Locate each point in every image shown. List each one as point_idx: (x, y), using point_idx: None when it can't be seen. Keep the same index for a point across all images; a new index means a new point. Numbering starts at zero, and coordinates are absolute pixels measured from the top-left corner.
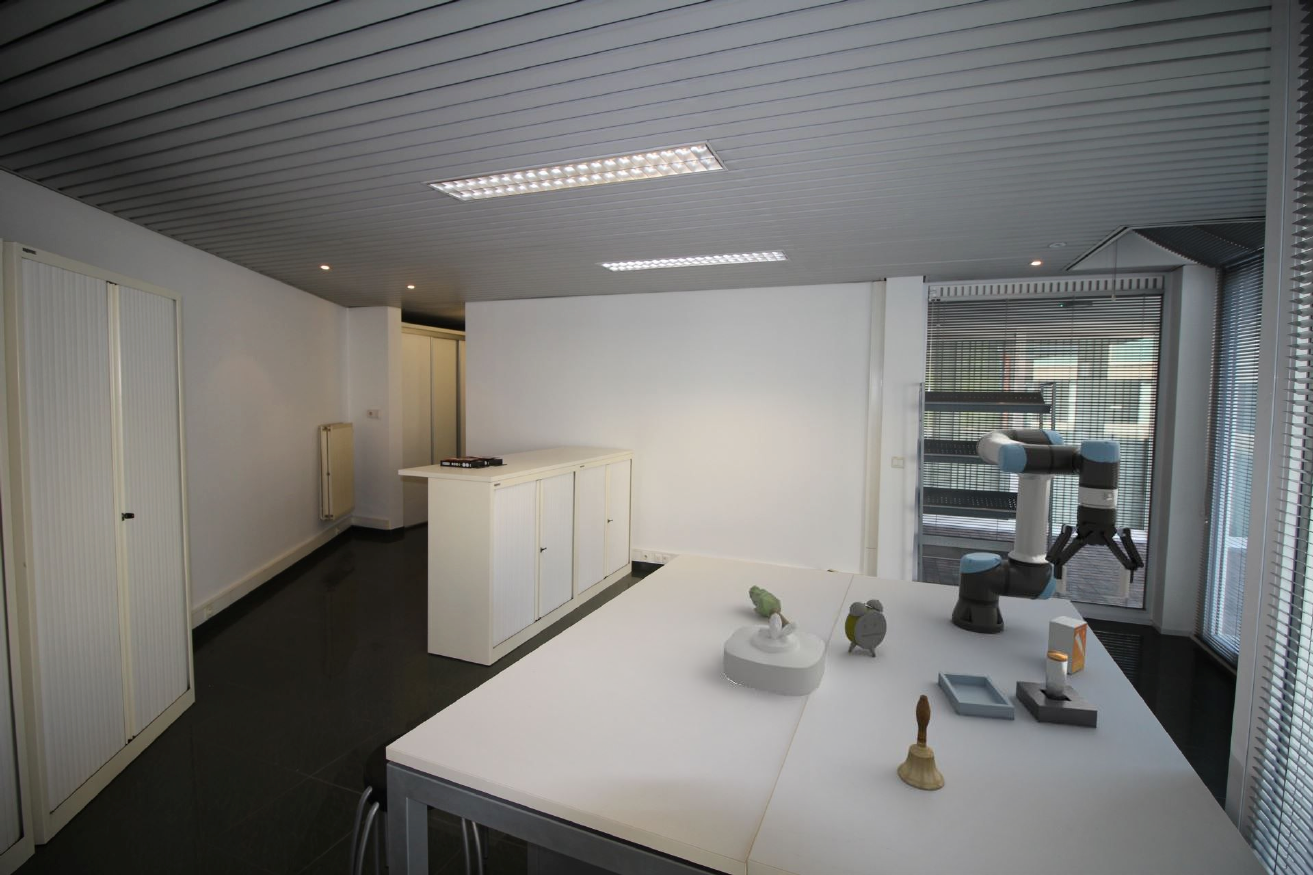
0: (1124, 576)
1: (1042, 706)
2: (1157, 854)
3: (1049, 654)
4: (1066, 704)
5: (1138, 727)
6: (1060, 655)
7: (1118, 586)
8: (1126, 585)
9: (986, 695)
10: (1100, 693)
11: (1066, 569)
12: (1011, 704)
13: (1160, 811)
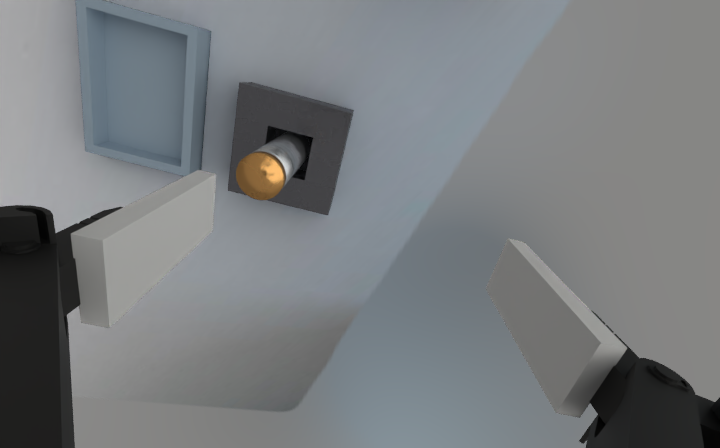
0: (538, 354)
1: (234, 191)
2: (217, 398)
3: (236, 176)
4: (284, 190)
5: (406, 207)
6: (261, 187)
7: (524, 260)
8: (511, 331)
9: (182, 83)
10: (454, 79)
11: (118, 315)
12: (187, 165)
13: (268, 357)
